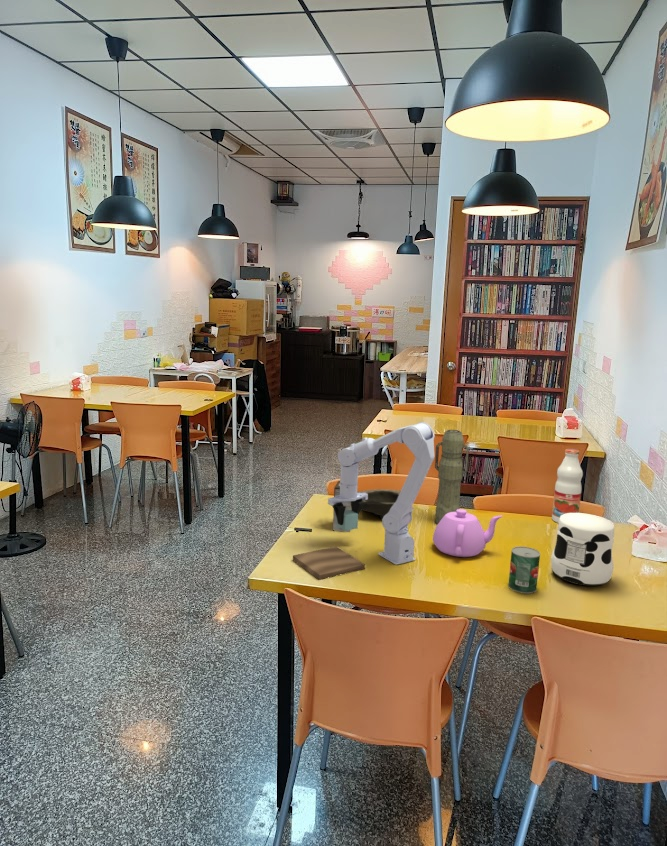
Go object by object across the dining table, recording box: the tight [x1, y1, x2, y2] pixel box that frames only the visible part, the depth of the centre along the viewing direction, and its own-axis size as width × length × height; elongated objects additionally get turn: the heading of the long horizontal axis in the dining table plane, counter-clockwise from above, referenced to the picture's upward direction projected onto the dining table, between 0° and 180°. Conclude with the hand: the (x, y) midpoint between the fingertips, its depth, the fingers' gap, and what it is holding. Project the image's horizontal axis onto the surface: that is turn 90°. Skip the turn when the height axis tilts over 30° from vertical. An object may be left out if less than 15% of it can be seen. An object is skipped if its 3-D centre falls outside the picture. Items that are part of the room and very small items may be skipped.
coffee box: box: [332, 480, 352, 533], centre depth 220 cm, size 9×6×16 cm
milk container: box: [550, 512, 615, 587], centre depth 184 cm, size 17×17×18 cm
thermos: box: [434, 429, 470, 526], centre depth 226 cm, size 9×12×35 cm
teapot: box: [432, 508, 504, 558], centre depth 202 cm, size 22×22×14 cm
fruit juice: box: [551, 448, 584, 524], centre depth 234 cm, size 9×9×28 cm
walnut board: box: [292, 546, 366, 581], centre depth 189 cm, size 16×16×2 cm
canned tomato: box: [507, 546, 541, 594], centre depth 177 cm, size 8×8×11 cm
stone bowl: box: [357, 488, 401, 520], centre depth 238 cm, size 25×25×9 cm
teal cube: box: [337, 510, 359, 531], centre depth 204 cm, size 5×5×5 cm
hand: (347, 522), depth 204 cm, fingers closed on teal cube, 5 cm apart
